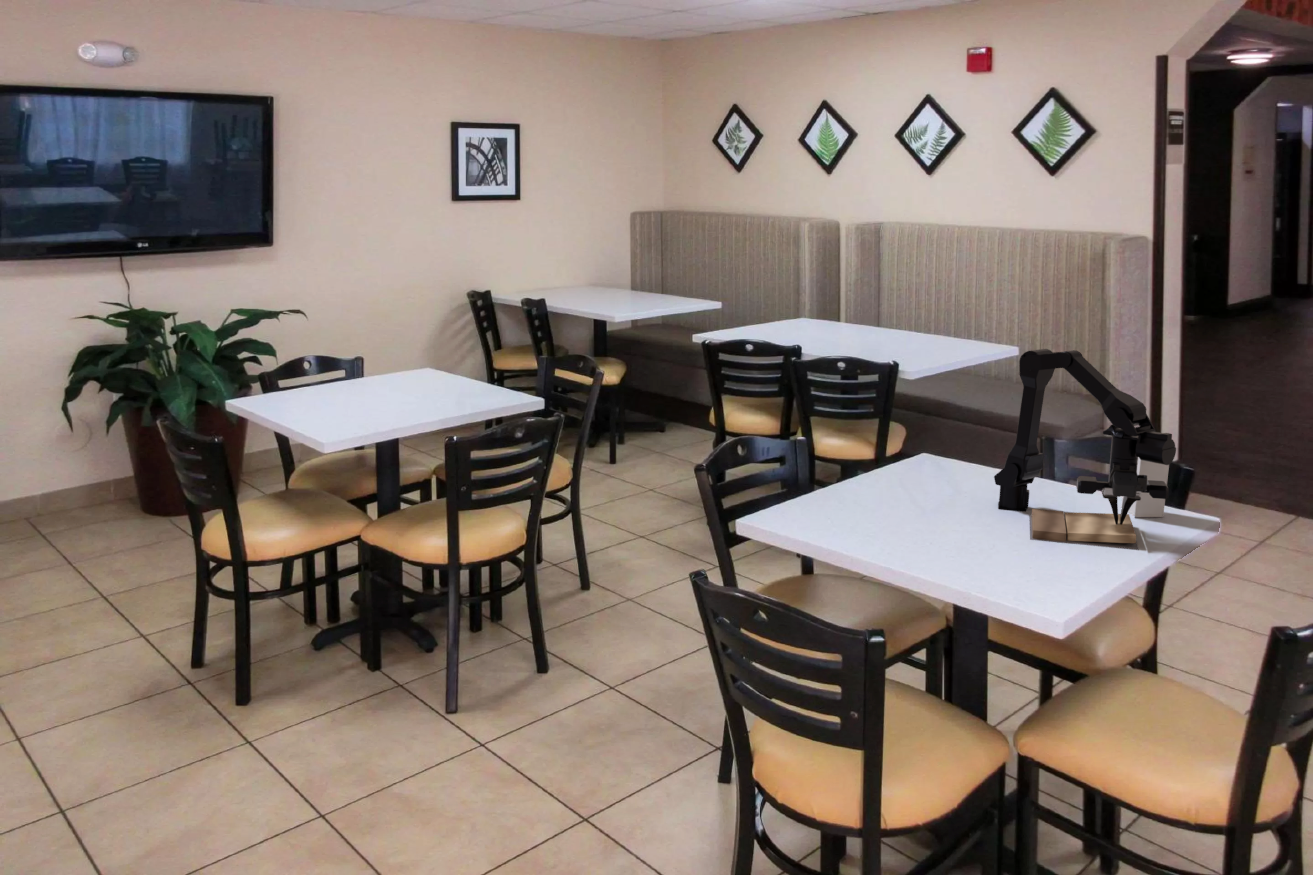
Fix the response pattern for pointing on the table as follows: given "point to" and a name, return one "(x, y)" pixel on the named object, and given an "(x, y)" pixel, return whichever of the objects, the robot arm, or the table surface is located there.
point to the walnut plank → (1048, 525)
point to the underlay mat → (1102, 544)
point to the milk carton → (1147, 503)
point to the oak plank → (1098, 528)
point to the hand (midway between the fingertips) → (1118, 524)
